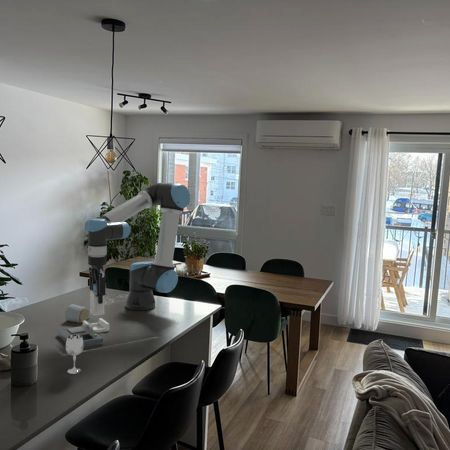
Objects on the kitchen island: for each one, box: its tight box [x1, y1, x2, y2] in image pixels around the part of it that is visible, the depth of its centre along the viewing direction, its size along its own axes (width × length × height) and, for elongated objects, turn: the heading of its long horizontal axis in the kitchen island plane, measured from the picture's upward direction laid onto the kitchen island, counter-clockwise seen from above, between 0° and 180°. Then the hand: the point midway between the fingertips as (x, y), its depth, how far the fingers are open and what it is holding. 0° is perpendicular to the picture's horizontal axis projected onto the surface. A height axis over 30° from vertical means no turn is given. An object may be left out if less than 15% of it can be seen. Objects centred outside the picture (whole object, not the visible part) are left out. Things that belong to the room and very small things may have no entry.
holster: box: [82, 317, 110, 334], centre depth 194 cm, size 8×9×4 cm
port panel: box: [57, 325, 104, 349], centre depth 181 cm, size 12×18×3 cm, turn 37°
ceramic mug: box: [64, 303, 90, 324], centre depth 205 cm, size 11×8×8 cm
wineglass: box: [65, 335, 84, 375], centre depth 153 cm, size 6×6×12 cm
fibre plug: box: [89, 284, 105, 317], centre depth 193 cm, size 4×4×13 cm
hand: (97, 308), depth 194 cm, fingers closed on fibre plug, 4 cm apart
